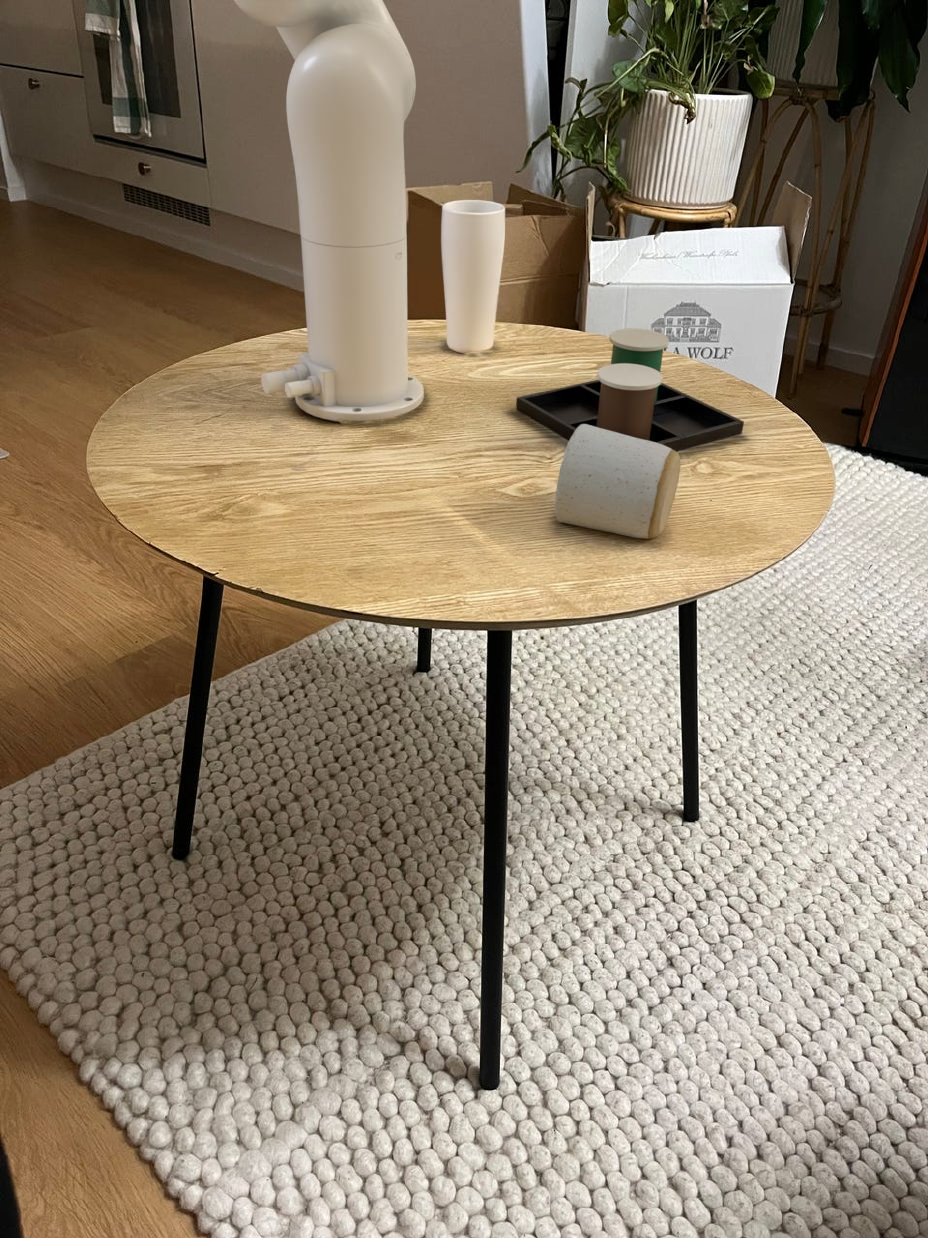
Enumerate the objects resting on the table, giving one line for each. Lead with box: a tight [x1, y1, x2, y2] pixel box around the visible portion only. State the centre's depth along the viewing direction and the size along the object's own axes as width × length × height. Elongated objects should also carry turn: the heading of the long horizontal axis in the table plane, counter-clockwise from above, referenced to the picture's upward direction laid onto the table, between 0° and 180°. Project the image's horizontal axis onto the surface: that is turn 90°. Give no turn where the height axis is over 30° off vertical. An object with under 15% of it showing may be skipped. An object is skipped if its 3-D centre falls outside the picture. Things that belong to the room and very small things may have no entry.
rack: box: [515, 379, 745, 453], centre depth 94 cm, size 15×15×2 cm
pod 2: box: [596, 363, 663, 441], centre depth 88 cm, size 6×6×6 cm
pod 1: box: [608, 327, 670, 402], centre depth 97 cm, size 6×6×6 cm
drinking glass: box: [440, 199, 506, 354], centre depth 108 cm, size 7×7×15 cm
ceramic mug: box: [554, 424, 682, 540], centre depth 77 cm, size 11×8×8 cm
